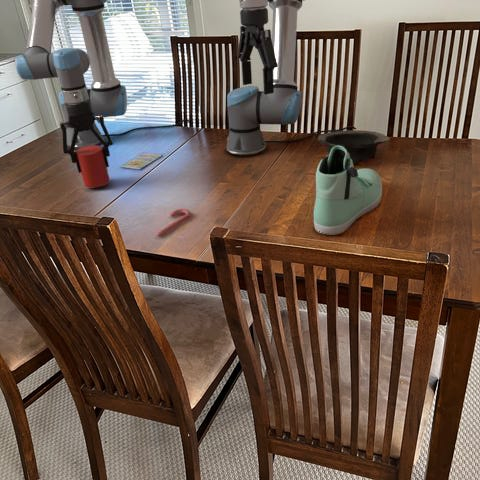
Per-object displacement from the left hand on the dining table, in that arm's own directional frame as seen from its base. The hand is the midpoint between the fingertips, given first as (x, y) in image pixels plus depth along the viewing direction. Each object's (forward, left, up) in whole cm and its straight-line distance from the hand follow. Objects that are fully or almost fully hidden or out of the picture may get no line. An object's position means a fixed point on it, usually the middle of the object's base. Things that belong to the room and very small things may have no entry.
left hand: (93, 168), depth 163 cm
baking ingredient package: (-21, -8, -6) cm, 24 cm away
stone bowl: (-77, +46, -6) cm, 90 cm away
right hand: (-39, +42, +25) cm, 63 cm away
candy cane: (-4, +43, -6) cm, 44 cm away
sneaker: (-47, +72, -6) cm, 86 cm away
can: (0, 0, -5) cm, 5 cm away
